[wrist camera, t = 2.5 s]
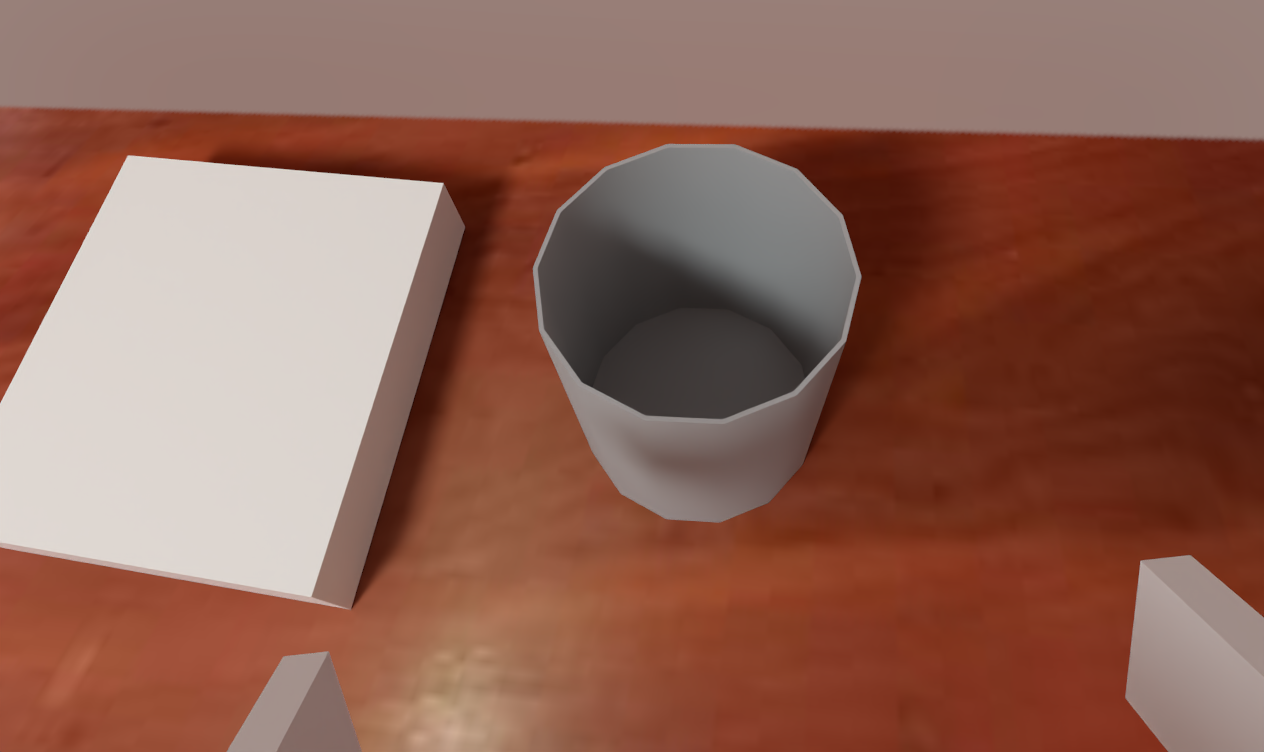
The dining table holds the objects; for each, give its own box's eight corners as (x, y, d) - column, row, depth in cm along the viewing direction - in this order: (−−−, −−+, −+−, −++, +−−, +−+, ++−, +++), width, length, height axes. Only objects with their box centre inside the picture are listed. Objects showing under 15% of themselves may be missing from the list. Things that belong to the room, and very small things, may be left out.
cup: (860, 438, 28) (930, 304, 19) (673, 569, 27) (653, 492, 18) (721, 275, 32) (724, 95, 23) (547, 386, 30) (477, 242, 21)
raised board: (465, 227, 34) (443, 183, 31) (350, 609, 28) (311, 597, 25) (172, 198, 36) (128, 155, 33) (6, 548, 30) (-66, 530, 27)
